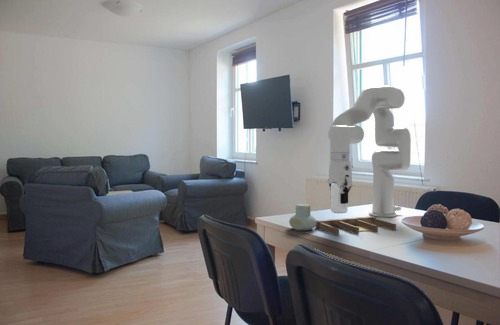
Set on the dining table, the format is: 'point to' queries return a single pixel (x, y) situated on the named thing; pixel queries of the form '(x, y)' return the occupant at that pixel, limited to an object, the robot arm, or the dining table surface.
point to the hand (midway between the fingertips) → (339, 201)
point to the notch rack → (353, 224)
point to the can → (337, 199)
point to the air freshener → (302, 218)
